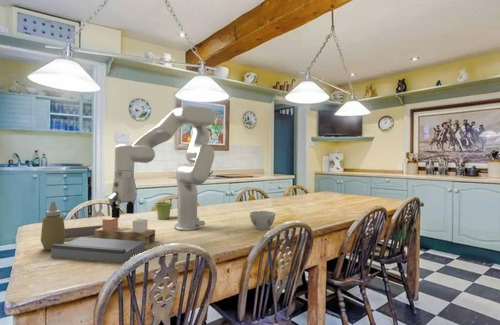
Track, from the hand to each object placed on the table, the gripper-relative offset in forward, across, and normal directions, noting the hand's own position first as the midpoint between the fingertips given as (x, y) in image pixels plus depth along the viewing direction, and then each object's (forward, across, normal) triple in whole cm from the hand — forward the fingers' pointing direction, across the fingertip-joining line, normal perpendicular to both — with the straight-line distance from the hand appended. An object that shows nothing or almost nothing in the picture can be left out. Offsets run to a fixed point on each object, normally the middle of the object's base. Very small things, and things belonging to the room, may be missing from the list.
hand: (123, 215), depth 119 cm
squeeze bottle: (+12, -13, +20) cm, 27 cm away
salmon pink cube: (+6, +1, +6) cm, 9 cm away
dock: (+11, -14, -1) cm, 18 cm away
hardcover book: (+12, +4, +25) cm, 28 cm away
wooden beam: (+11, +1, -1) cm, 11 cm away
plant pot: (+10, +43, +3) cm, 44 cm away
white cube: (+6, +1, -8) cm, 10 cm away
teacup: (+9, +34, -54) cm, 64 cm away
